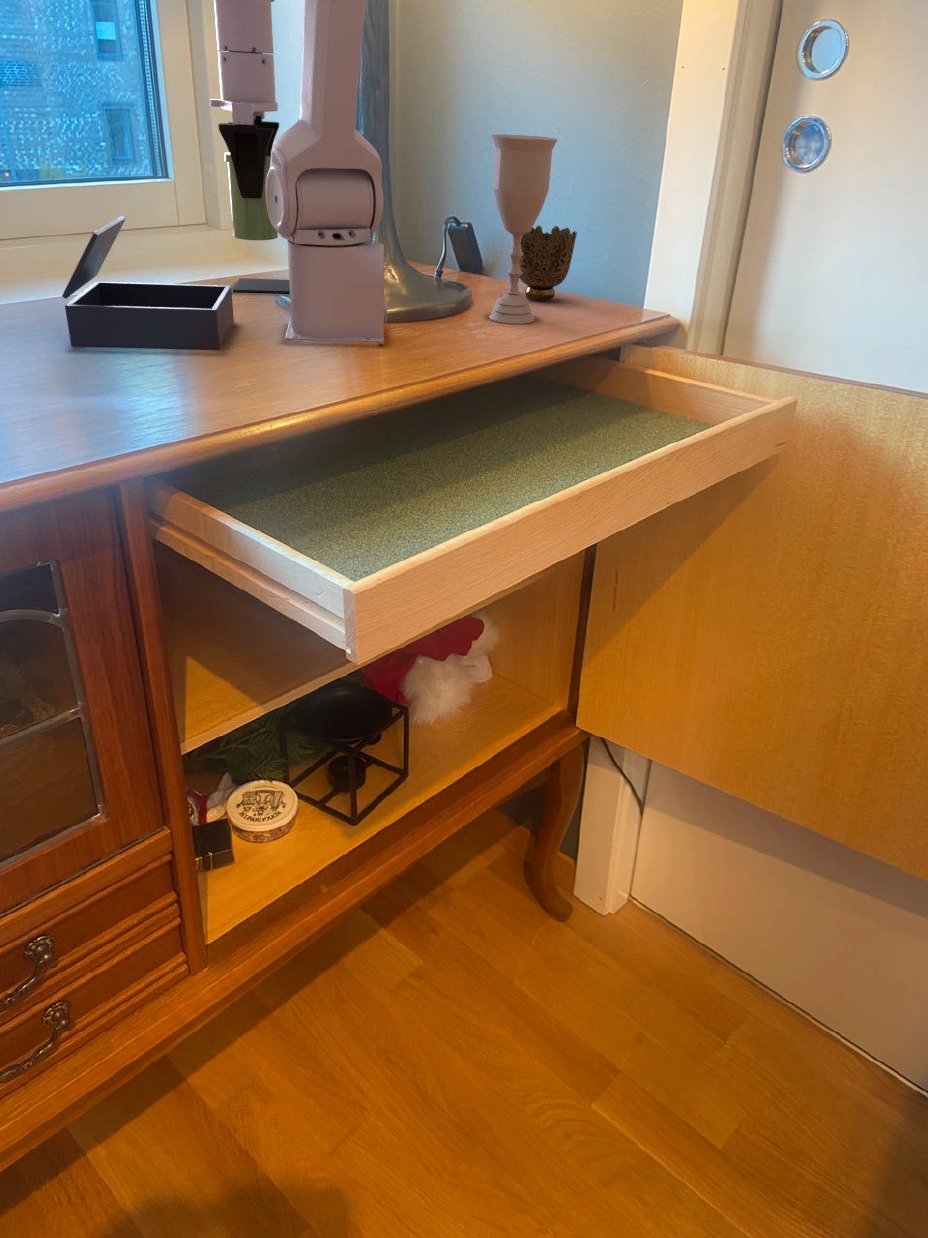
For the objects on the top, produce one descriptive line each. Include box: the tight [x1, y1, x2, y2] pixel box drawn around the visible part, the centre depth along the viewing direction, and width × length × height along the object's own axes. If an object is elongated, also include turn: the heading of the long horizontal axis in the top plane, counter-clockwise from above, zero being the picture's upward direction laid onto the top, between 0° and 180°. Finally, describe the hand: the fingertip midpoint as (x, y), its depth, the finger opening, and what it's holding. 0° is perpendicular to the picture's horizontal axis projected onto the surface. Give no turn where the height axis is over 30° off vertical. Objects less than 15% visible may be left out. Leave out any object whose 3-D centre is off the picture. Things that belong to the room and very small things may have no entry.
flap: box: [61, 215, 127, 299], centre depth 84 cm, size 6×11×1 cm
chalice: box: [488, 134, 558, 325], centre depth 99 cm, size 7×7×18 cm
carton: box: [64, 281, 235, 351], centre depth 87 cm, size 13×11×4 cm
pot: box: [224, 151, 279, 241], centre depth 104 cm, size 6×6×8 cm
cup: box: [519, 225, 578, 302], centre depth 111 cm, size 8×7×8 cm
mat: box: [232, 277, 290, 295], centre depth 110 cm, size 7×7×1 cm
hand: (254, 194), depth 104 cm, fingers closed on pot, 5 cm apart
